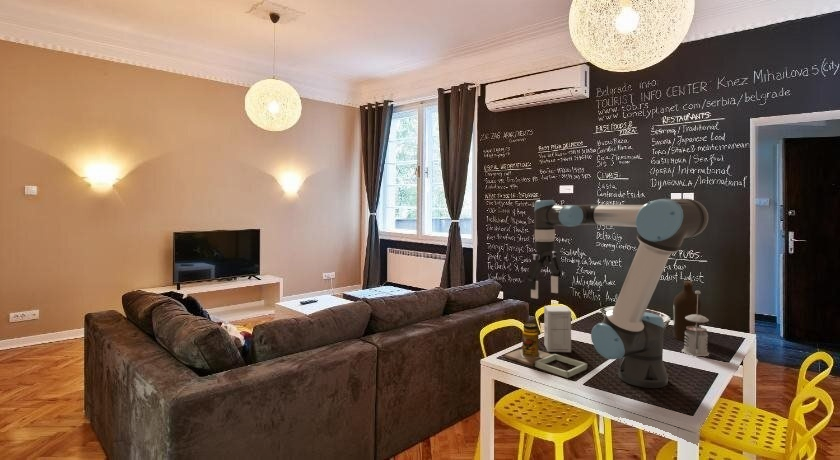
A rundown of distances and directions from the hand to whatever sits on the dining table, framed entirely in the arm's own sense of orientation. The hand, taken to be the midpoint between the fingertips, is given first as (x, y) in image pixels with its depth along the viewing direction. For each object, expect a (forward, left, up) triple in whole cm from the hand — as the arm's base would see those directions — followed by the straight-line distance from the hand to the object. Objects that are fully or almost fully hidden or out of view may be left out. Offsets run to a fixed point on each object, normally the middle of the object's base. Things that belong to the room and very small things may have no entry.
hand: (544, 295), depth 177 cm
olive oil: (-27, -65, -25) cm, 75 cm away
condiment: (+3, +4, -24) cm, 24 cm away
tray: (-11, +5, -24) cm, 27 cm away
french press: (-37, -48, -25) cm, 65 cm away
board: (+3, +5, -24) cm, 25 cm away
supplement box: (+2, -12, -25) cm, 27 cm away
